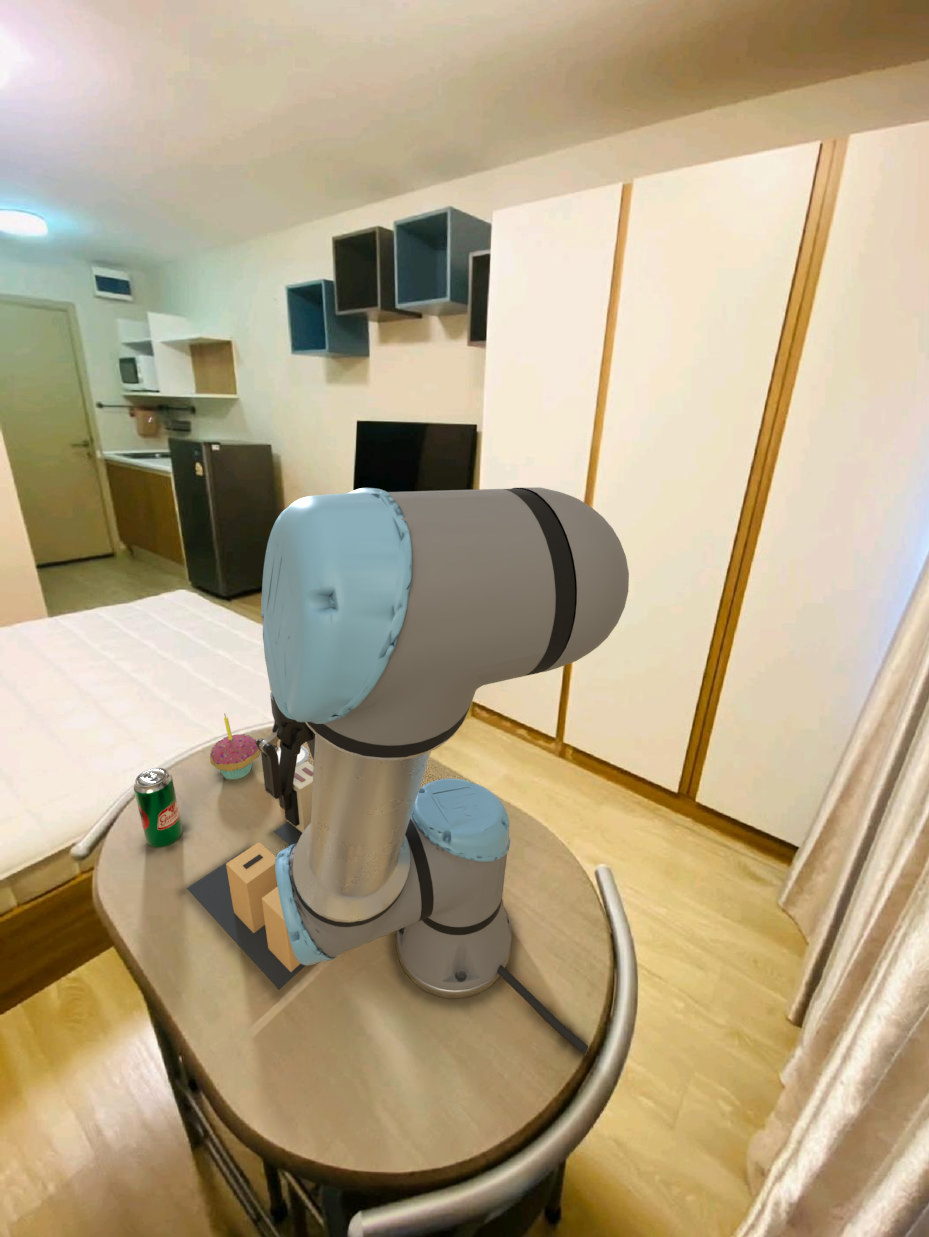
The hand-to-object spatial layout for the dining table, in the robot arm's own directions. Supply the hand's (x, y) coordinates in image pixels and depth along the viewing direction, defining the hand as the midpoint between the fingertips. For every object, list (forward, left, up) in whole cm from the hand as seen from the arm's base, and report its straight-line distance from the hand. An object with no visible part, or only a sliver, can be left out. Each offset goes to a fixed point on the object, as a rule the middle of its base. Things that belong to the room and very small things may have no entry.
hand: (306, 811), depth 85 cm
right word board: (-8, 0, -3) cm, 9 cm away
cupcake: (+21, 0, -3) cm, 21 cm away
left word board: (-8, +14, -3) cm, 16 cm away
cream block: (0, 0, -2) cm, 2 cm away
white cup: (+10, -4, -3) cm, 11 cm away
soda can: (+15, +16, -3) cm, 22 cm away
